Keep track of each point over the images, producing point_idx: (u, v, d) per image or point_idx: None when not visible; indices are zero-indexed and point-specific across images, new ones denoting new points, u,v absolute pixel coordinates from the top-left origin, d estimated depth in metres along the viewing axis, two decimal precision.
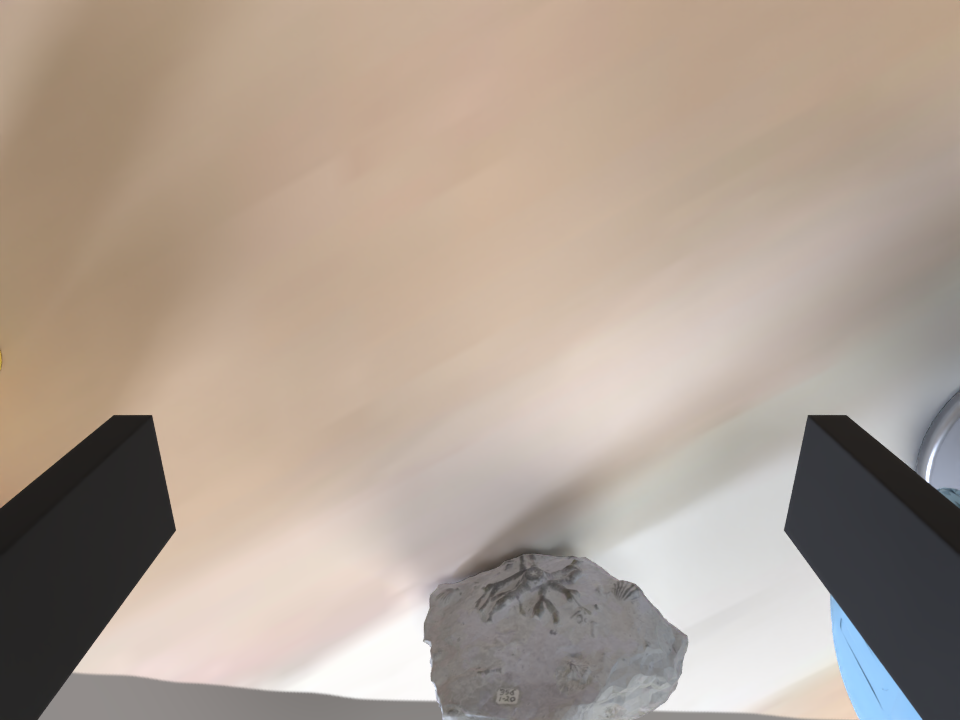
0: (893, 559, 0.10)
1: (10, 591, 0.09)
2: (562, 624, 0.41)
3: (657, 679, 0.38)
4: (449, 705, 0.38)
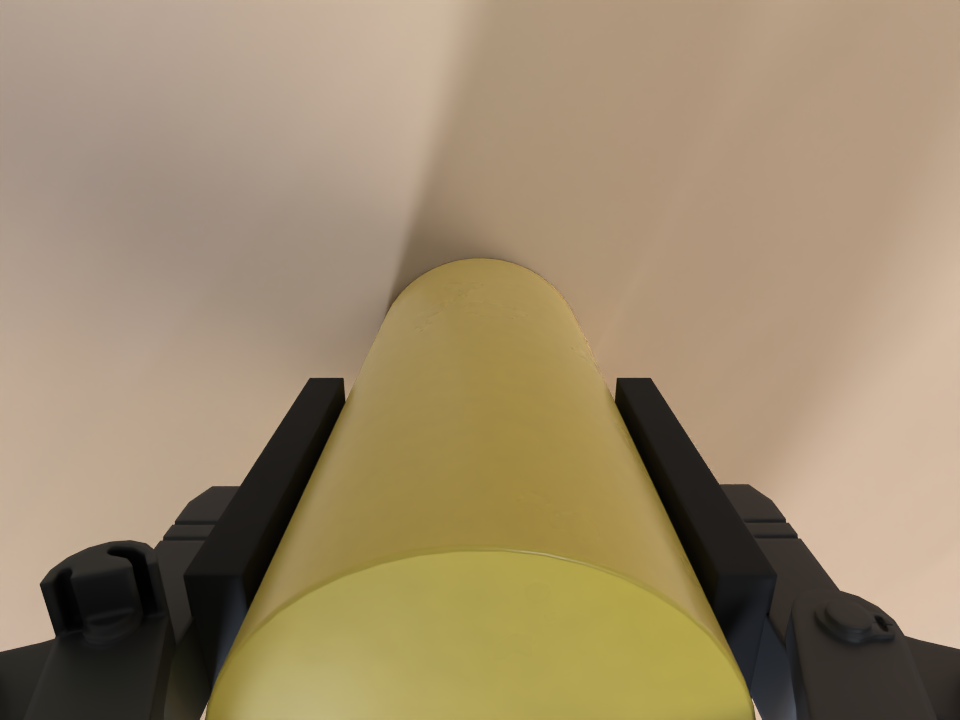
0: None
1: (294, 511, 0.10)
2: None
3: None
4: None
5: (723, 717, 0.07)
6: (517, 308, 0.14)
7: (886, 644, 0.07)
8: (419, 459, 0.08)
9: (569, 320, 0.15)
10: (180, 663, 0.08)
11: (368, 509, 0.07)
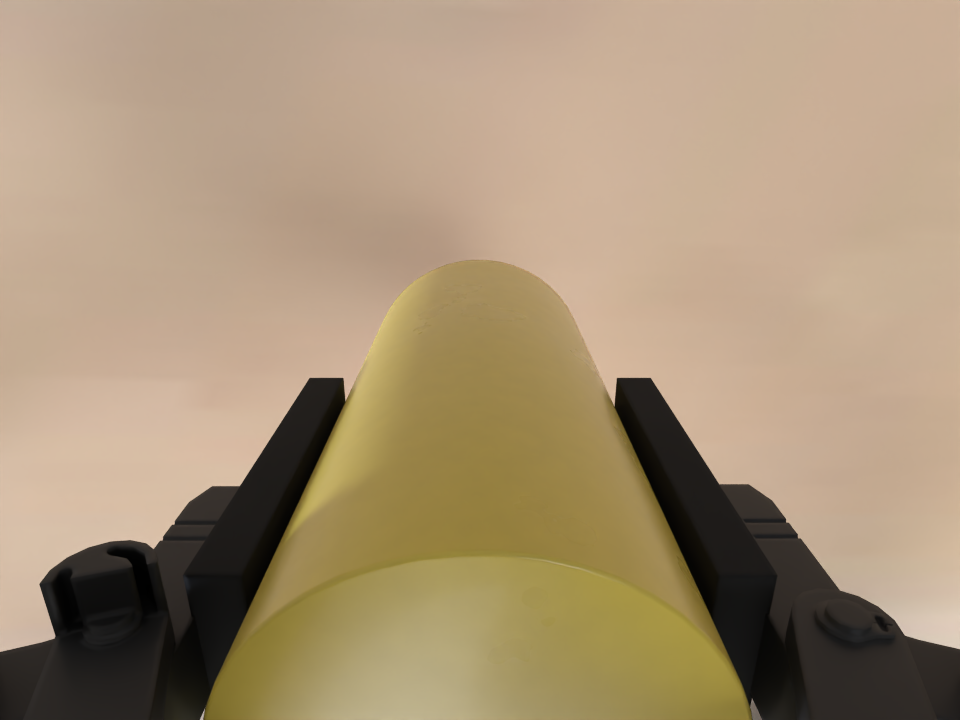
0: None
1: None
2: None
3: None
4: None
5: None
6: (516, 310, 0.14)
7: (886, 644, 0.07)
8: (417, 463, 0.08)
9: (568, 322, 0.16)
10: (180, 663, 0.08)
11: (367, 513, 0.07)
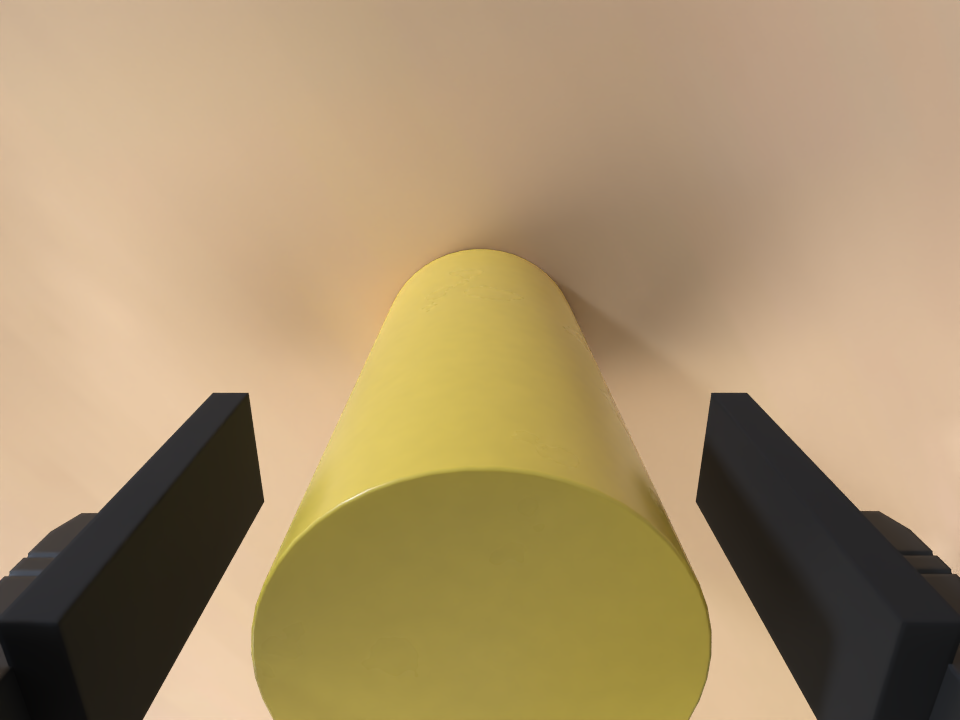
0: (766, 518, 0.11)
1: (159, 542, 0.10)
2: None
3: None
4: None
5: (683, 616, 0.08)
6: (514, 291, 0.15)
7: None
8: (430, 409, 0.09)
9: (562, 304, 0.17)
10: None
11: (389, 446, 0.08)
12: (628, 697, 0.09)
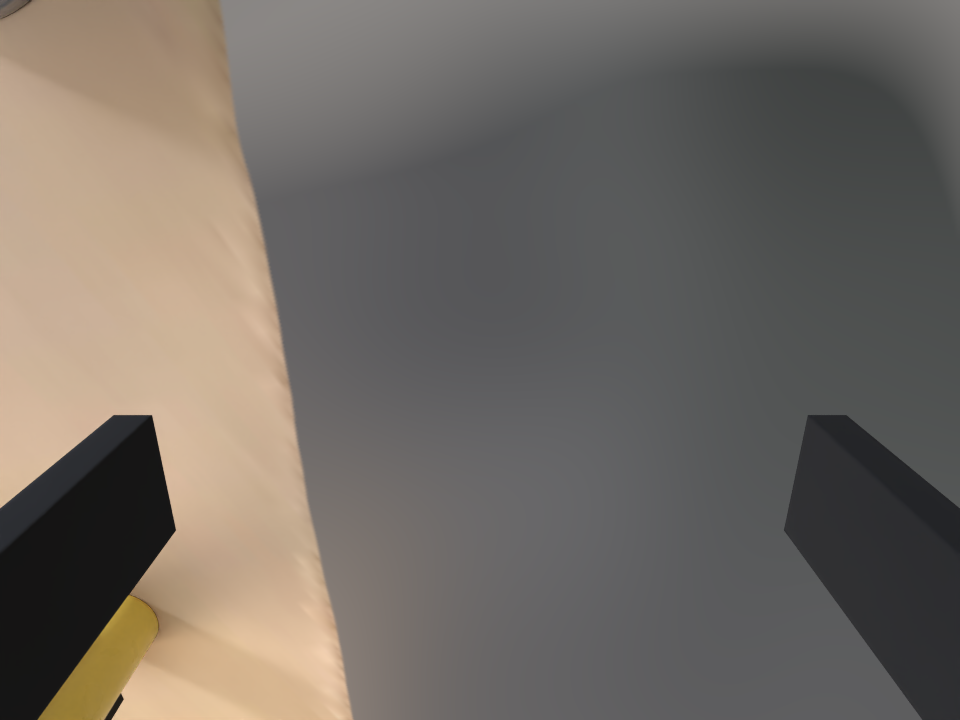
0: (893, 559, 0.10)
1: (10, 591, 0.09)
2: None
3: None
4: None
5: None
6: None
7: None
8: None
9: (124, 627, 0.51)
10: None
11: None
12: None
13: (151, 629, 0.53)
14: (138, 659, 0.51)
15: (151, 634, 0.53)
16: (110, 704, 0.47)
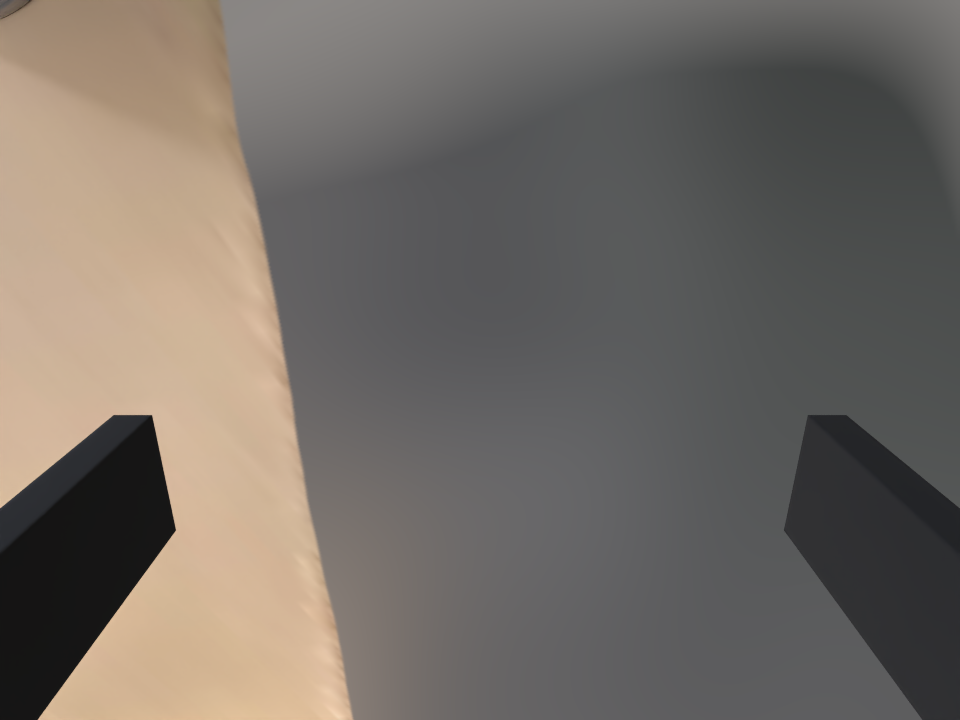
0: (893, 559, 0.10)
1: (10, 591, 0.09)
2: None
3: None
4: None
5: None
6: None
7: None
8: None
9: None
10: None
11: None
12: None
13: None
14: None
15: None
16: None
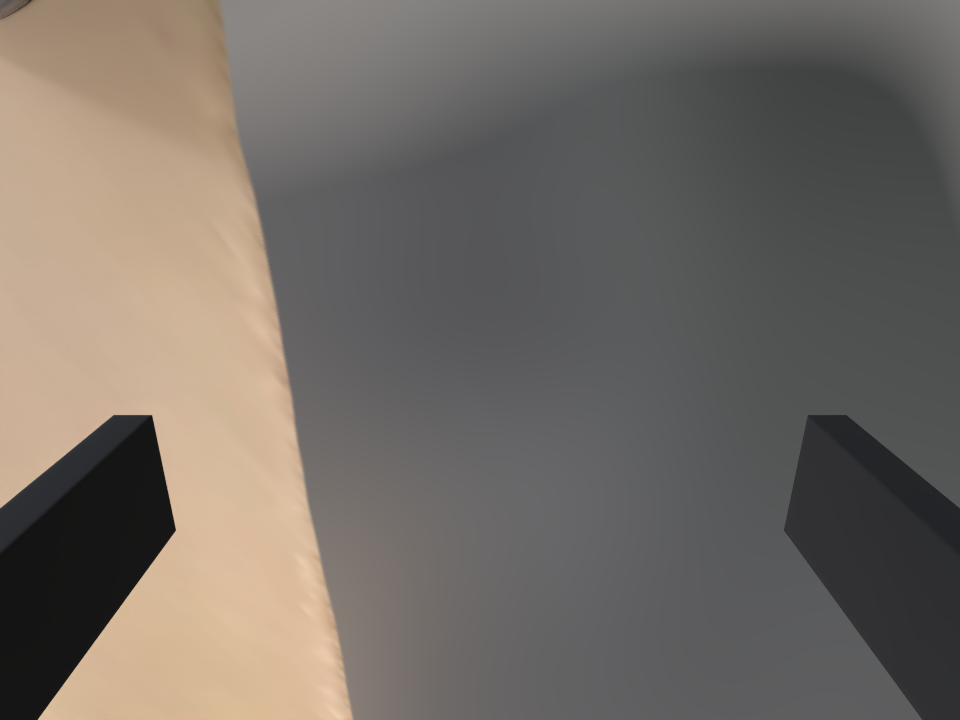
0: (893, 559, 0.10)
1: (10, 591, 0.09)
2: None
3: None
4: None
5: None
6: None
7: None
8: None
9: None
10: None
11: None
12: None
13: None
14: None
15: None
16: None
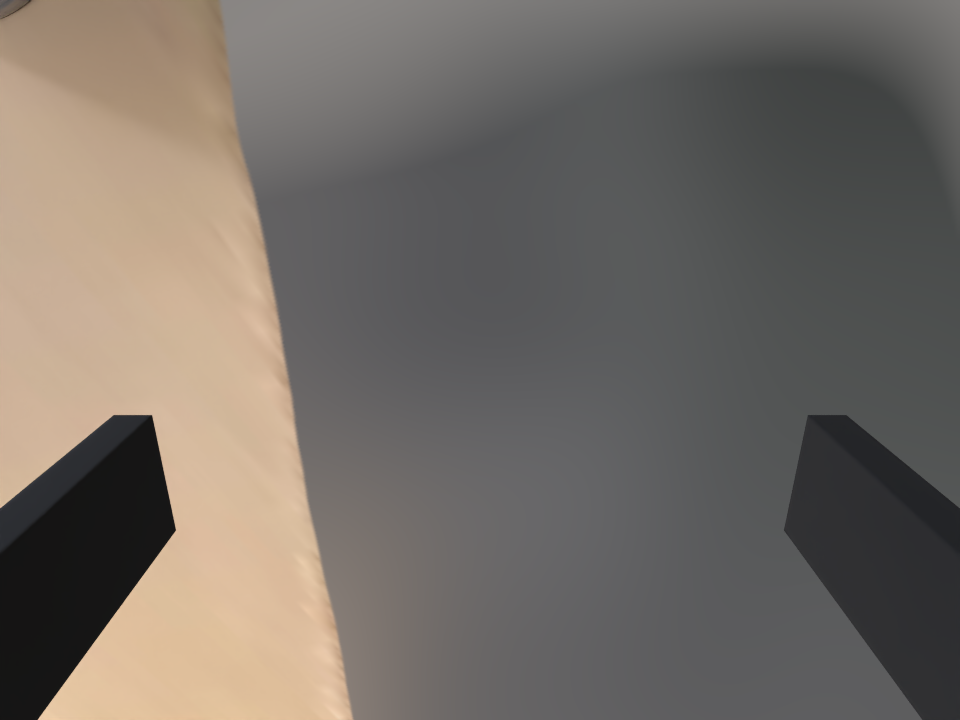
0: (893, 559, 0.10)
1: (10, 591, 0.09)
2: None
3: None
4: None
5: None
6: None
7: None
8: None
9: None
10: None
11: None
12: None
13: None
14: None
15: None
16: None
